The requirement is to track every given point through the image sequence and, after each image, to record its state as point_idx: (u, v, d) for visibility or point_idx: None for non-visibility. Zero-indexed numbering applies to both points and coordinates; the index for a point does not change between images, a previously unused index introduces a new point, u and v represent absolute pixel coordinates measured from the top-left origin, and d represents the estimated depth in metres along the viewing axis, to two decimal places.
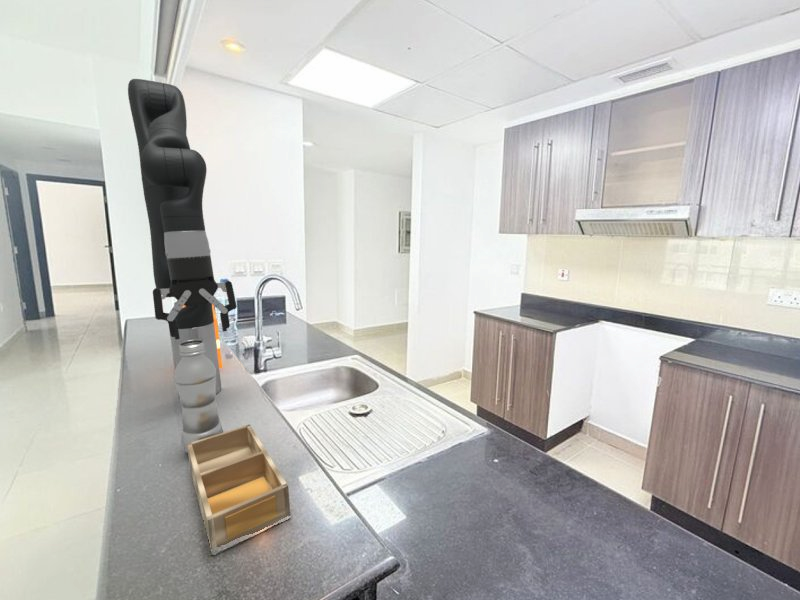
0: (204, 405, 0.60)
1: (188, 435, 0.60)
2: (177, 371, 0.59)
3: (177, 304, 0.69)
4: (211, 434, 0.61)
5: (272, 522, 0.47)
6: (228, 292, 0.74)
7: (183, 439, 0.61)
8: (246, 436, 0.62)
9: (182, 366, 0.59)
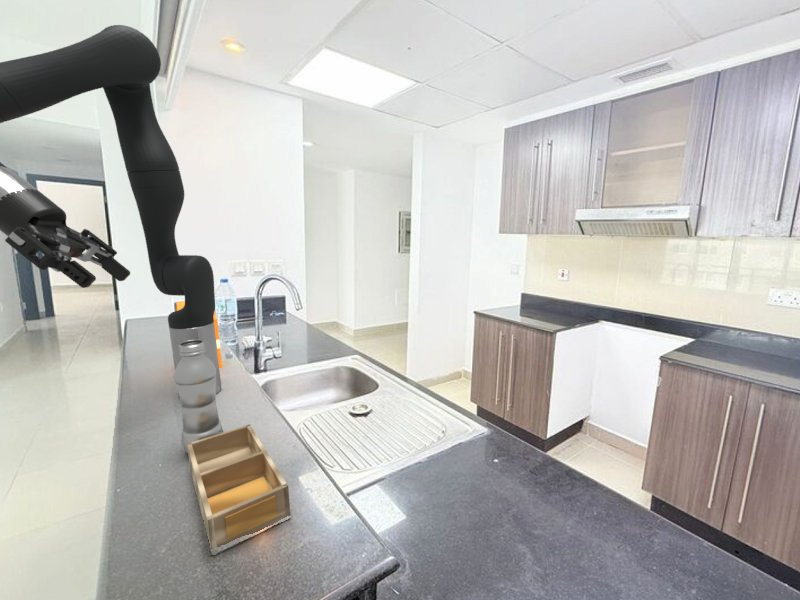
0: (204, 405, 0.60)
1: (188, 435, 0.60)
2: (177, 371, 0.59)
3: None
4: (211, 434, 0.61)
5: (272, 522, 0.47)
6: None
7: (183, 439, 0.61)
8: (246, 436, 0.62)
9: (182, 366, 0.59)
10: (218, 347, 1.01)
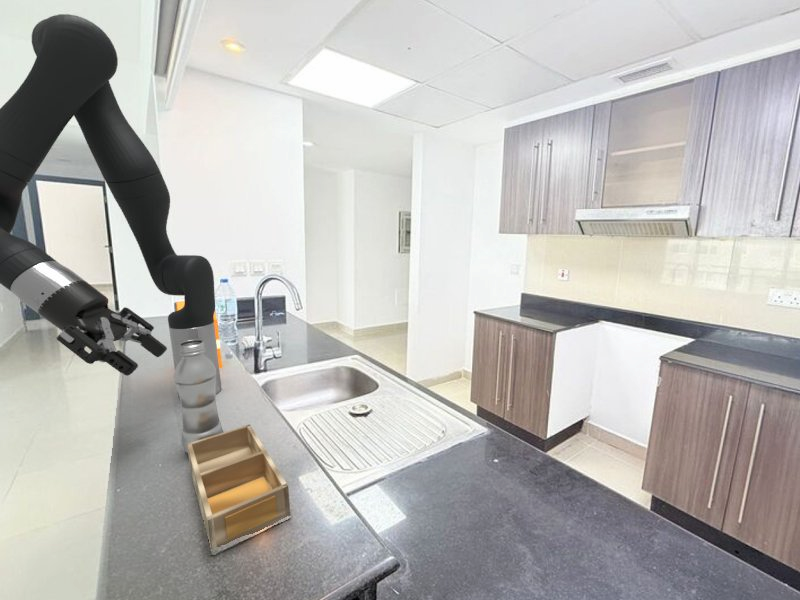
0: (204, 405, 0.60)
1: (188, 435, 0.60)
2: (177, 371, 0.59)
3: None
4: (211, 434, 0.61)
5: (272, 522, 0.47)
6: None
7: (183, 439, 0.61)
8: (246, 436, 0.62)
9: (182, 366, 0.59)
10: (218, 347, 1.01)
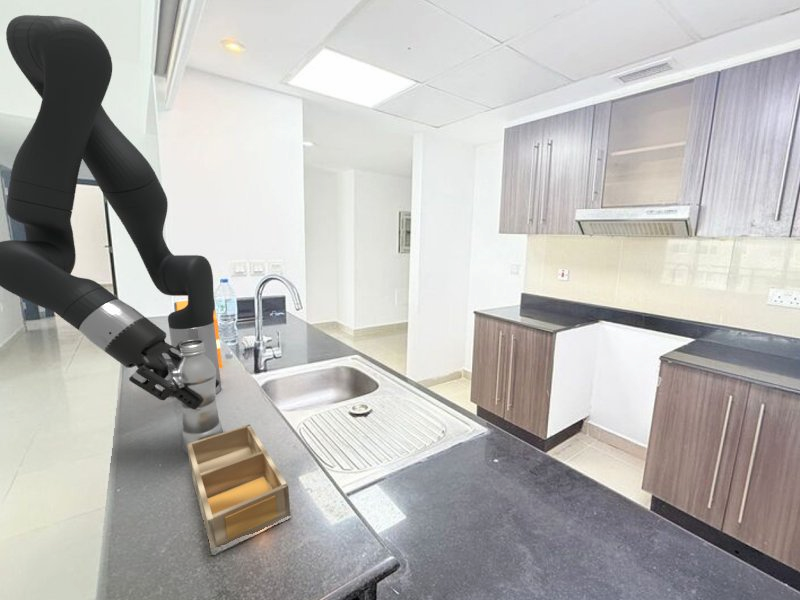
0: (204, 405, 0.60)
1: (188, 435, 0.60)
2: None
3: None
4: (211, 434, 0.61)
5: (272, 522, 0.47)
6: None
7: (183, 439, 0.61)
8: (246, 436, 0.62)
9: (182, 366, 0.59)
10: (218, 347, 1.01)
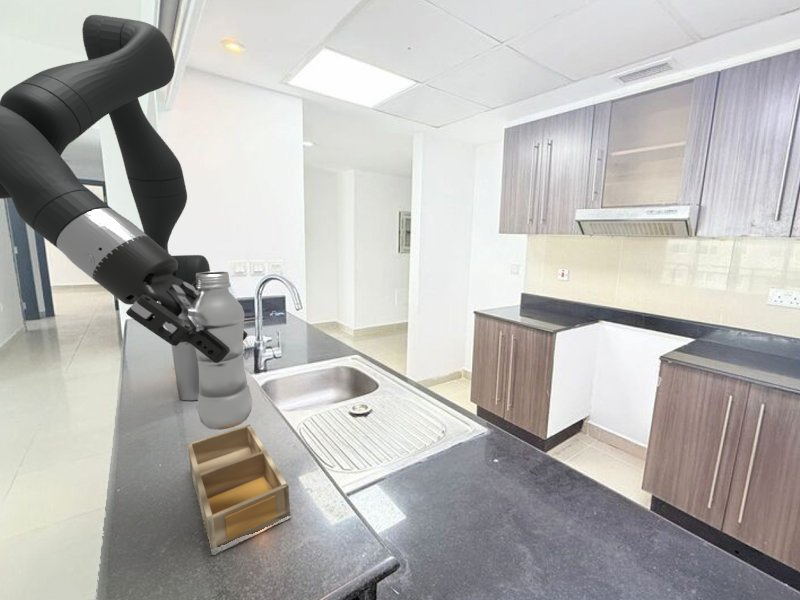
0: (229, 359, 0.44)
1: (207, 400, 0.44)
2: None
3: None
4: (237, 401, 0.45)
5: (272, 522, 0.47)
6: None
7: (199, 406, 0.44)
8: (246, 436, 0.62)
9: (200, 303, 0.42)
10: None
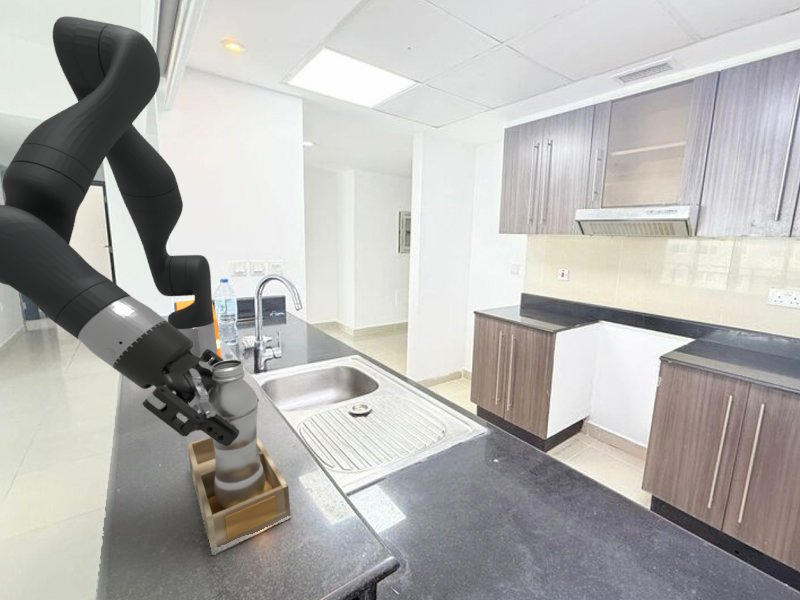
0: (244, 445, 0.46)
1: (224, 484, 0.46)
2: (210, 402, 0.45)
3: None
4: (252, 483, 0.47)
5: (272, 522, 0.47)
6: None
7: (216, 489, 0.47)
8: None
9: (217, 396, 0.45)
10: (218, 347, 1.01)
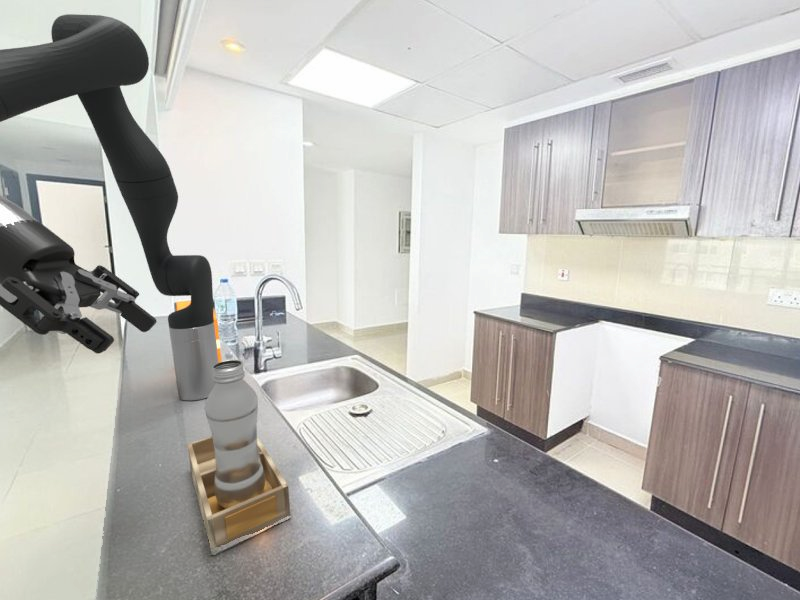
0: (244, 445, 0.46)
1: (224, 484, 0.46)
2: (210, 403, 0.45)
3: None
4: (252, 483, 0.47)
5: (272, 522, 0.47)
6: None
7: (216, 489, 0.47)
8: None
9: (217, 396, 0.44)
10: (218, 347, 1.01)
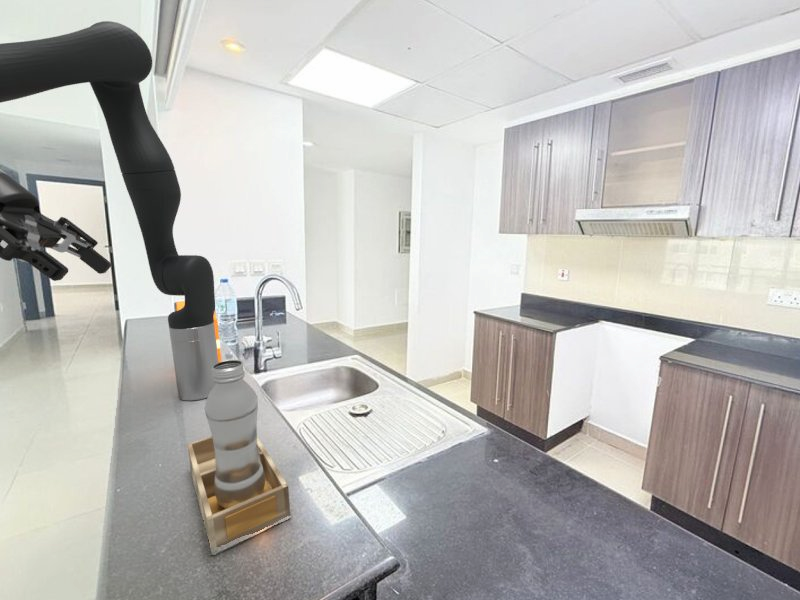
0: (244, 445, 0.46)
1: (224, 484, 0.46)
2: (210, 403, 0.45)
3: None
4: (252, 483, 0.47)
5: (272, 522, 0.47)
6: None
7: (216, 489, 0.47)
8: None
9: (217, 396, 0.45)
10: (218, 347, 1.01)
